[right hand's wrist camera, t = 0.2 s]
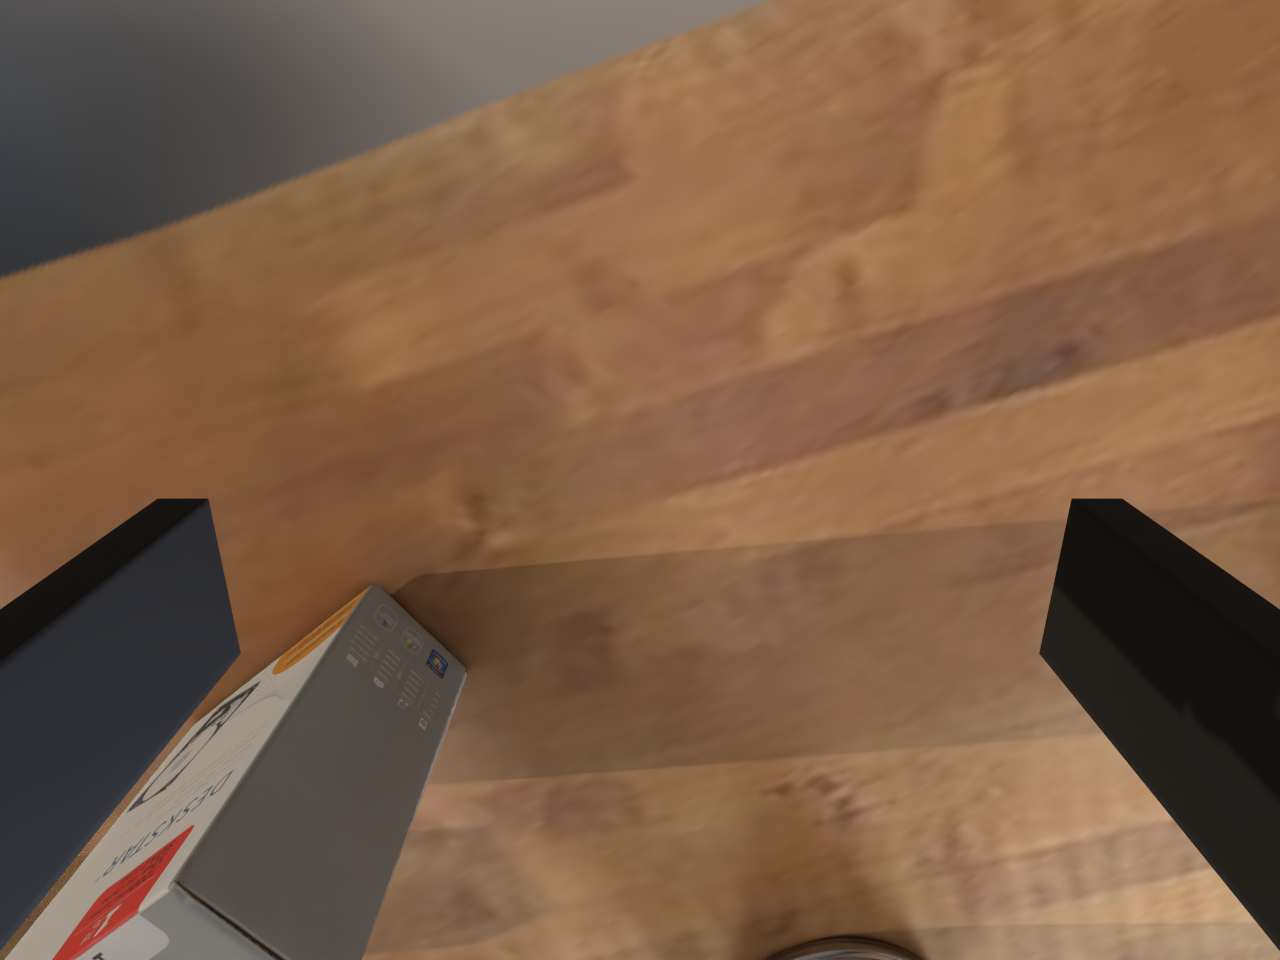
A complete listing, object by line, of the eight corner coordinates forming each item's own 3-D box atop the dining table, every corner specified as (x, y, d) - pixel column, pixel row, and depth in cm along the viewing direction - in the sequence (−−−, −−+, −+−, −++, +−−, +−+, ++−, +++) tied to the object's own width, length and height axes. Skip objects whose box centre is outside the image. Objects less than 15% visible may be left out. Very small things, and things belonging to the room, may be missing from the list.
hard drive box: (374, 575, 44) (180, 879, 25) (472, 668, 46) (360, 1012, 28) (187, 724, 48) (-104, 1087, 29) (286, 805, 50) (75, 1190, 31)
